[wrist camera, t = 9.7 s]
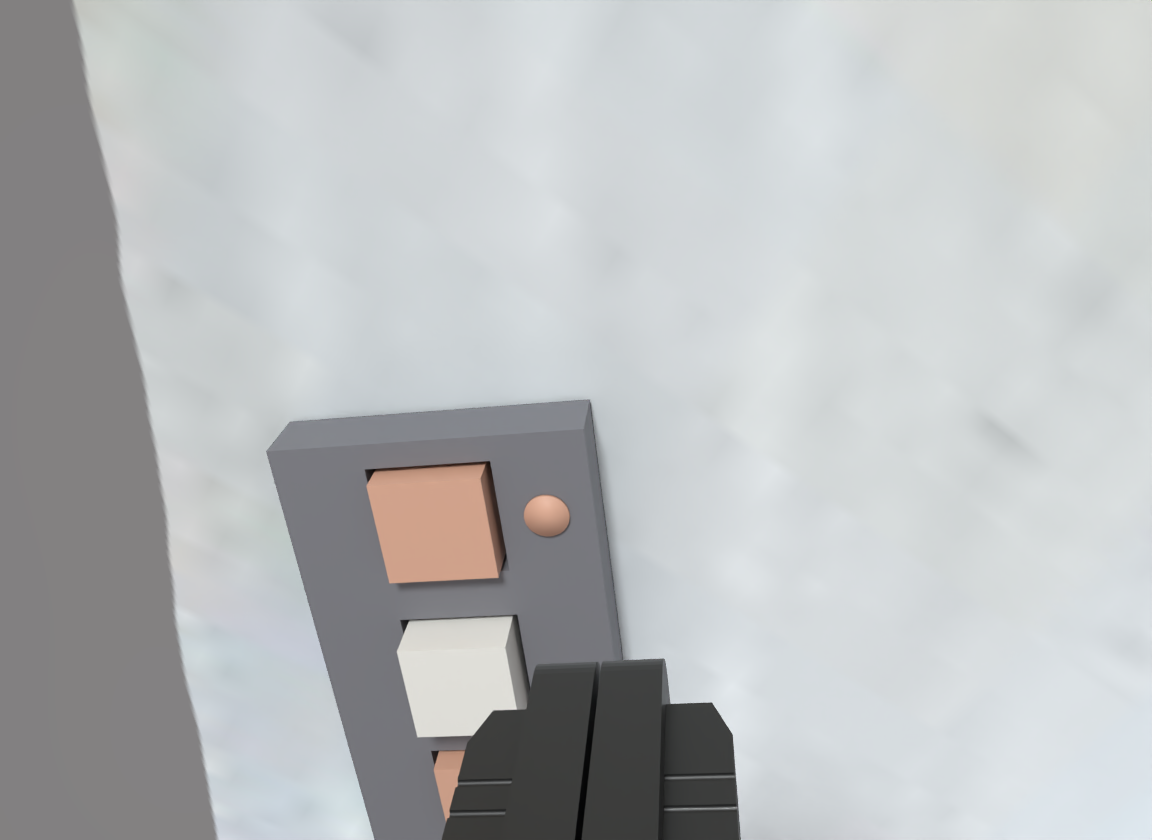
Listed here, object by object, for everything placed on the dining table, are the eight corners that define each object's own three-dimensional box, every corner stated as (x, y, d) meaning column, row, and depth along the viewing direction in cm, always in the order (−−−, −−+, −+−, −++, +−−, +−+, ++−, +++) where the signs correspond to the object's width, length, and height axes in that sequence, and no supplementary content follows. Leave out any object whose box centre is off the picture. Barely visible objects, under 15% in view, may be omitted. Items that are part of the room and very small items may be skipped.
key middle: (515, 607, 48) (505, 647, 46) (530, 691, 50) (521, 734, 48) (412, 612, 49) (397, 651, 46) (431, 694, 51) (417, 737, 48)
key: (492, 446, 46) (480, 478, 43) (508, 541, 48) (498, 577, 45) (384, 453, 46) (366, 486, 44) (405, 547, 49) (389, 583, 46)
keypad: (589, 399, 45) (583, 431, 43) (641, 802, 55) (639, 849, 53) (289, 421, 47) (264, 453, 44) (391, 807, 57) (376, 853, 55)
